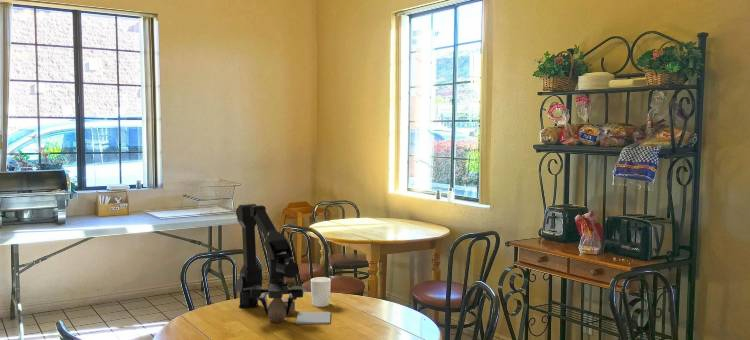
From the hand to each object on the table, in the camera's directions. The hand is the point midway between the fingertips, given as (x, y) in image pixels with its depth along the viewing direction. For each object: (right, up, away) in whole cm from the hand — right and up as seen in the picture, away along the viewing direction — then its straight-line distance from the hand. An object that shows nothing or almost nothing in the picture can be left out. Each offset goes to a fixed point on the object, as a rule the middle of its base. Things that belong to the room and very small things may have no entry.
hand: (277, 315), depth 226 cm
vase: (0, -2, 0) cm, 2 cm away
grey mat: (+13, -2, +3) cm, 13 cm away
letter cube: (+2, -1, +10) cm, 11 cm away
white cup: (+14, -1, +21) cm, 25 cm away
